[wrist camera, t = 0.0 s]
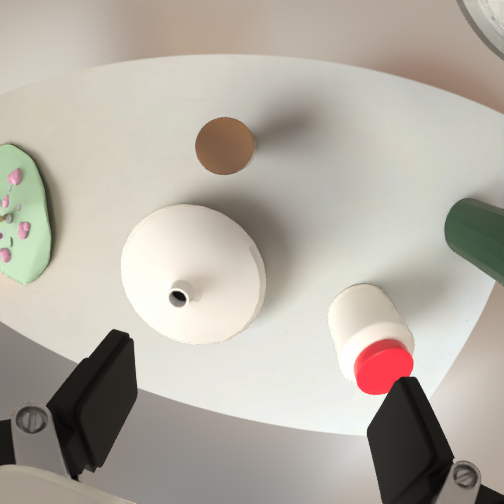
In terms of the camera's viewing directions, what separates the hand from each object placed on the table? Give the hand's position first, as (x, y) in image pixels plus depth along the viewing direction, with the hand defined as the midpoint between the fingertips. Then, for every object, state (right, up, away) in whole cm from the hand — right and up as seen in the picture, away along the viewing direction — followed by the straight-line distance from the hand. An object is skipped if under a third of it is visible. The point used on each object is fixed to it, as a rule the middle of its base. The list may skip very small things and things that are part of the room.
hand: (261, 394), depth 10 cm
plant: (-38, +11, +24) cm, 46 cm away
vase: (-7, +3, +24) cm, 25 cm away
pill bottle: (+12, -2, +24) cm, 27 cm away
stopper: (-2, +15, +20) cm, 25 cm away
